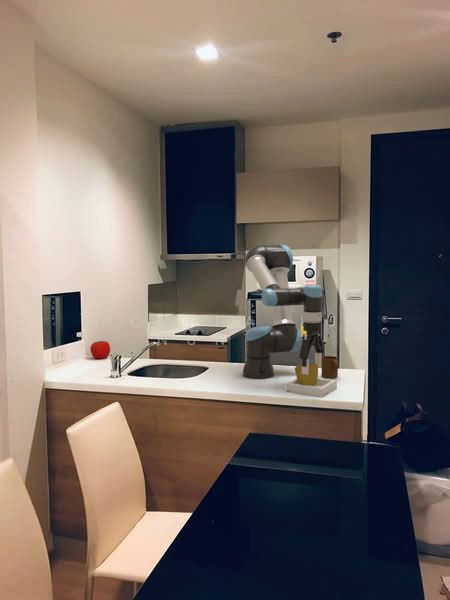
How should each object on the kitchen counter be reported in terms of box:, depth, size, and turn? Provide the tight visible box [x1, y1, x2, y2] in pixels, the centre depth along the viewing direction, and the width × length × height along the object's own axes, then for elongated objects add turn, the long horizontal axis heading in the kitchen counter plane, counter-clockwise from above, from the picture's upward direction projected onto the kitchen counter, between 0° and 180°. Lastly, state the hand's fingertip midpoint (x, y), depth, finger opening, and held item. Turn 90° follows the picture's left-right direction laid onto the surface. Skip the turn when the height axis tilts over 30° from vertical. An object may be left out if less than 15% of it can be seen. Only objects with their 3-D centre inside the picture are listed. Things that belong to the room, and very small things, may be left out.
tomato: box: [89, 340, 111, 360], centre depth 289 cm, size 11×13×10 cm
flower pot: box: [294, 363, 319, 386], centre depth 215 cm, size 9×9×9 cm
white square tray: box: [286, 377, 338, 398], centre depth 216 cm, size 16×16×4 cm
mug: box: [320, 355, 339, 380], centre depth 237 cm, size 12×8×9 cm, turn 13°
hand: (311, 370), depth 216 cm, fingers open, 13 cm apart
